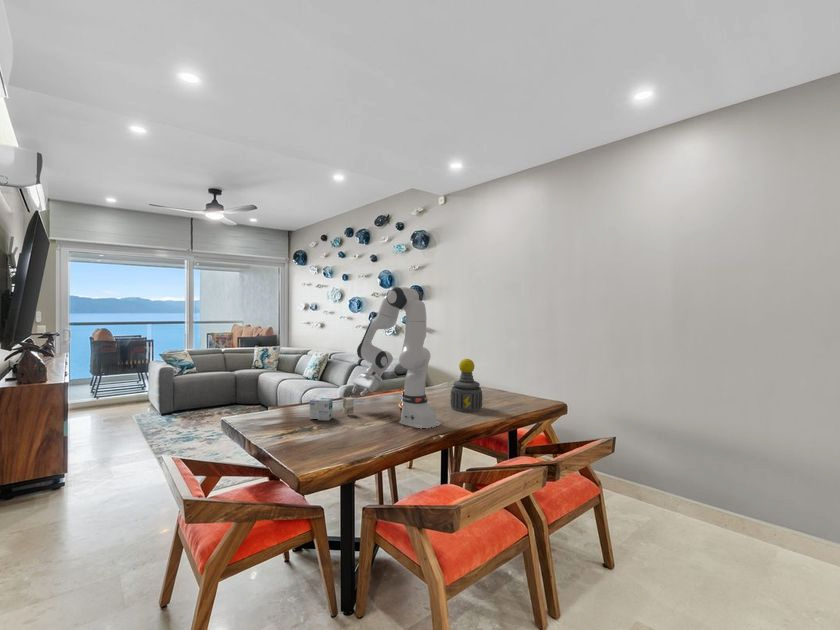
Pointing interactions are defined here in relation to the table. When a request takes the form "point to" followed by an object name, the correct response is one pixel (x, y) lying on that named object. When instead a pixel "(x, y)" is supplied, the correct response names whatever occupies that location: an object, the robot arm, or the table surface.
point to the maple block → (348, 406)
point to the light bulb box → (321, 408)
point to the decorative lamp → (466, 390)
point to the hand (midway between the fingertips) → (356, 393)
